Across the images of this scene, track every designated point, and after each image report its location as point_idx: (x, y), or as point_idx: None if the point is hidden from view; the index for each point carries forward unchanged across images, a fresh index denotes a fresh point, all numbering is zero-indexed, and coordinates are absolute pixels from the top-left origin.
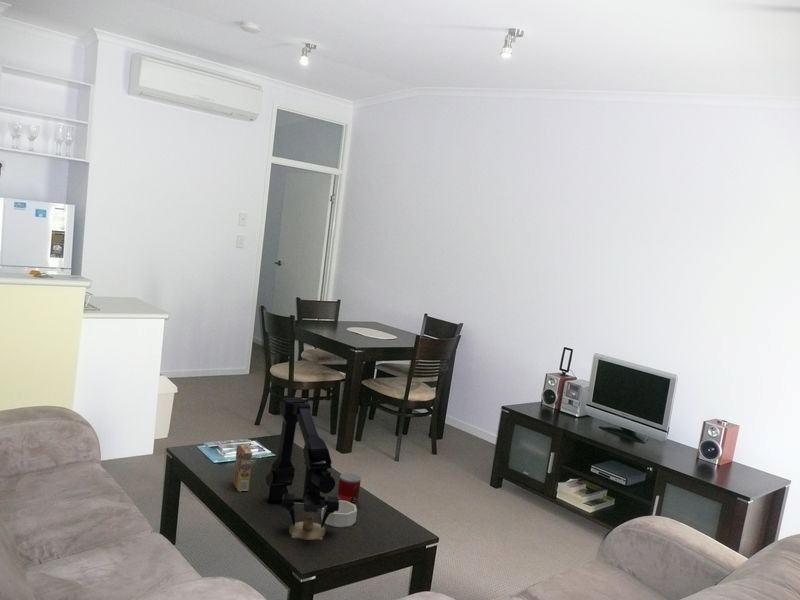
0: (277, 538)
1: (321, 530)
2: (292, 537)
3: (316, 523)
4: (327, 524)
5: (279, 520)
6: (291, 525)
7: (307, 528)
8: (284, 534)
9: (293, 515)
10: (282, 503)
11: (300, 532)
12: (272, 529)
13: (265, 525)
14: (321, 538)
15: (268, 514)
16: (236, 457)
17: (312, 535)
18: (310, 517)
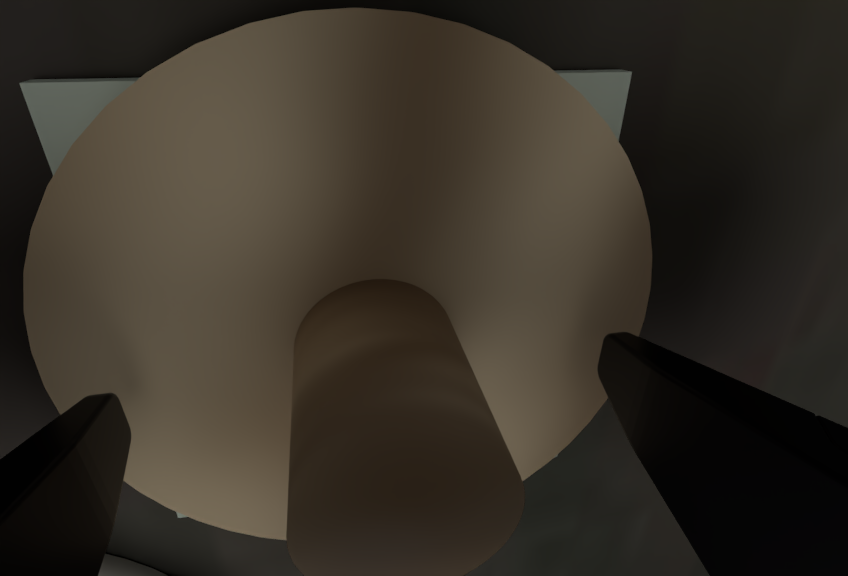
0: (828, 45)
1: (117, 365)
2: (621, 71)
3: (254, 531)
4: (106, 568)
5: (660, 495)
6: (600, 397)
7: (384, 307)
8: (691, 201)
9: (844, 461)
10: None
11: (494, 216)
12: (792, 304)
13: (827, 371)
14: (54, 115)
15: None
16: None
17: (256, 128)
18: (367, 551)
